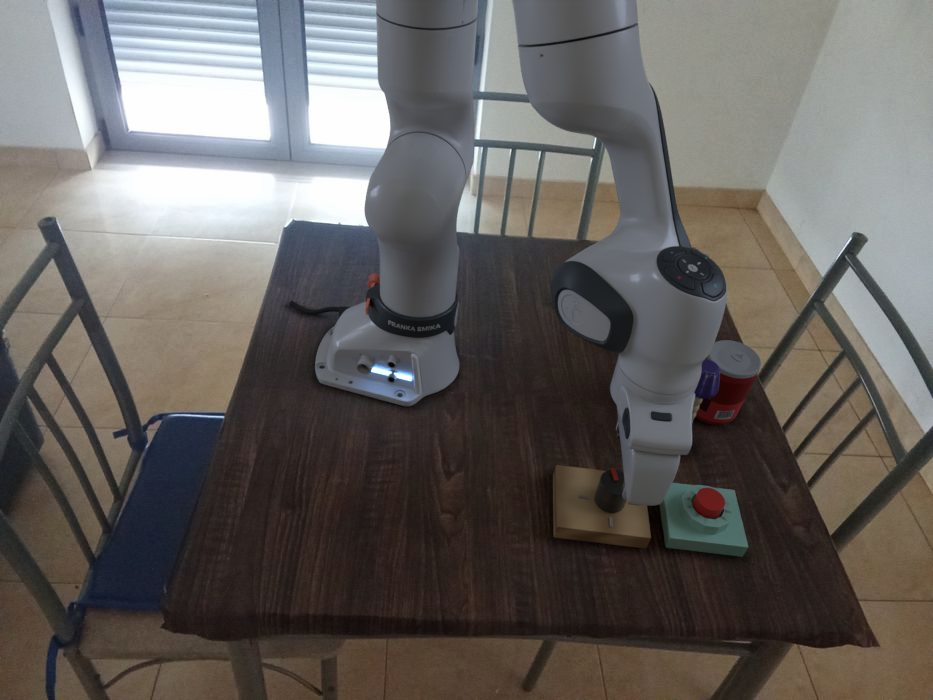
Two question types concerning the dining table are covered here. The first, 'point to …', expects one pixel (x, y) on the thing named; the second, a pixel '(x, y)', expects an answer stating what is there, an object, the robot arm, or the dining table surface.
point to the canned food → (729, 381)
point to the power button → (709, 502)
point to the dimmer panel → (594, 512)
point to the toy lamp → (706, 385)
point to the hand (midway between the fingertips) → (625, 464)
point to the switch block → (702, 523)
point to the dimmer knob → (610, 491)
